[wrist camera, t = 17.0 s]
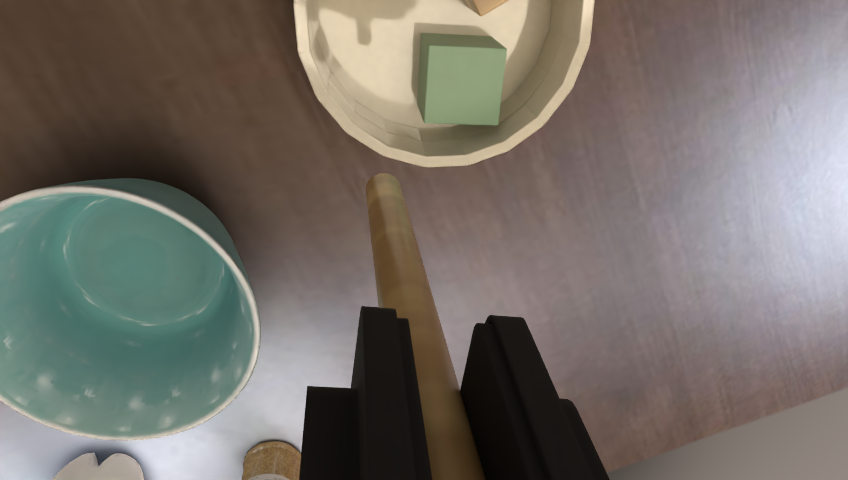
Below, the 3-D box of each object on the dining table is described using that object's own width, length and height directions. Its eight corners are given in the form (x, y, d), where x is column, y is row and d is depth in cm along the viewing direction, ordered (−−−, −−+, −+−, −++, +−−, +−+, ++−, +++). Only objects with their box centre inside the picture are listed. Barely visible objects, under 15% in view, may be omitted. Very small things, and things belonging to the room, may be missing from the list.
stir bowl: (247, -18, 34) (228, -7, 29) (463, -206, 31) (487, -232, 26) (408, 177, 40) (417, 217, 35) (602, 34, 37) (644, 52, 32)
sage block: (420, 32, 35) (428, 44, 32) (491, 35, 36) (507, 48, 32) (416, 104, 37) (423, 123, 34) (484, 106, 38) (498, 125, 34)
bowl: (199, 392, 45) (169, 483, 38) (-29, 282, 40) (-115, 363, 33) (324, 229, 41) (319, 296, 33) (87, 80, 35) (17, 121, 28)
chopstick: (360, 181, 22) (412, 799, 5) (391, 167, 22) (550, 743, 5) (375, 211, 22) (468, 870, 6) (406, 197, 22) (595, 819, 6)
